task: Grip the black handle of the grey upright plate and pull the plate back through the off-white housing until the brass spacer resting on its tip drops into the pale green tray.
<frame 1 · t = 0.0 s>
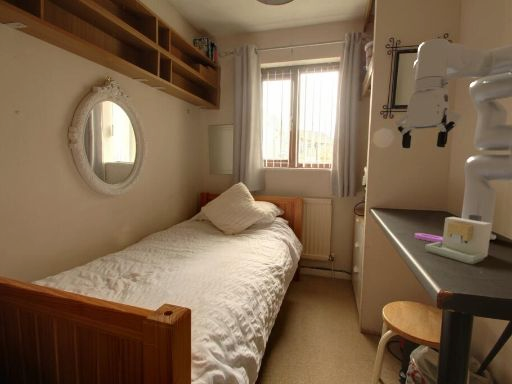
hand: (422, 147, 79), 31 cm above the table, tool pointing down, fingers open, 9 cm apart
spacer: (458, 238, 80), point 5 cm above the table, touching grey upright plate
grey upright plate: (466, 228, 82), point 8 cm above the table, slide at 0.0 cm, touching spacer
housing: (463, 252, 83), on the table
bracket: (435, 241, 95), on the table
tray: (453, 255, 79), on the table
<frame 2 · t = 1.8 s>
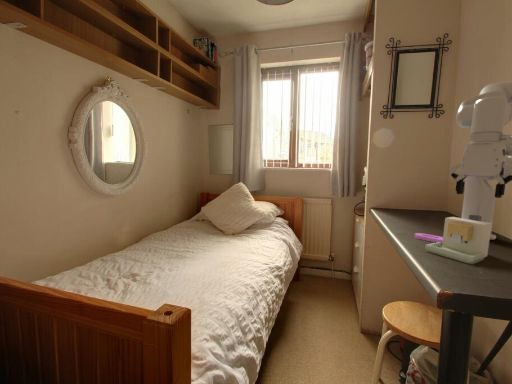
hand: (478, 195, 83), 18 cm above the table, tool pointing down, fingers open, 9 cm apart
nothing on the table moved.
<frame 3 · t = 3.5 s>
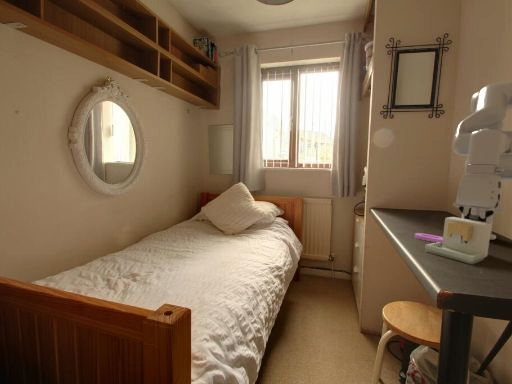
hand: (473, 228, 85), 7 cm above the table, tool pointing down, fingers closed on grey upright plate, 2 cm apart
grey upright plate: (466, 228, 82), point 8 cm above the table, slide at 0.0 cm, touching gripper, spacer
everything else where it was.
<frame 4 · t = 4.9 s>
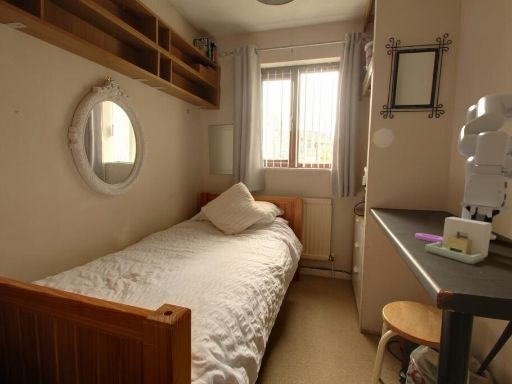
hand: (480, 227, 87), 7 cm above the table, tool pointing down, fingers closed on grey upright plate, 2 cm apart
spacer: (457, 251, 80), point 1 cm above the table, touching tray
grey upright plate: (473, 227, 84), point 8 cm above the table, slide at 5.1 cm, touching gripper
everything else where it was.
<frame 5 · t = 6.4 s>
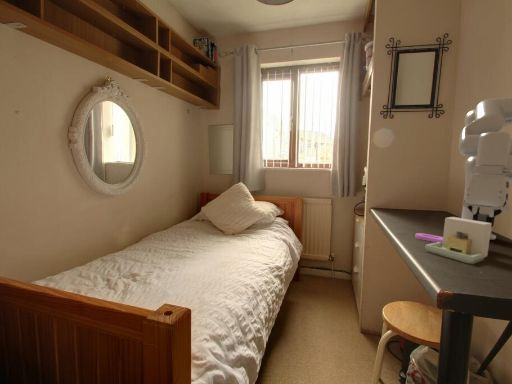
hand: (482, 227, 88), 7 cm above the table, tool pointing down, fingers closed on grey upright plate, 2 cm apart
grey upright plate: (475, 226, 85), point 8 cm above the table, slide at 6.5 cm, touching gripper
everything else where it was.
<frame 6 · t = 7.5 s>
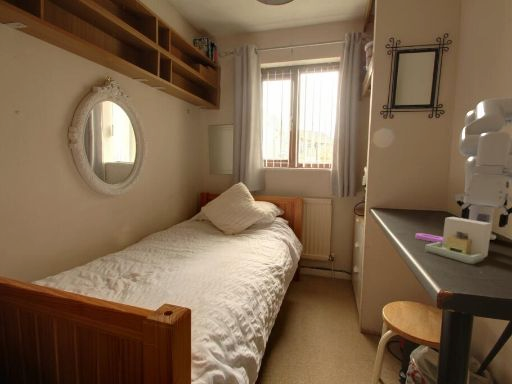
hand: (482, 223, 88), 8 cm above the table, tool pointing down, fingers open, 9 cm apart
grey upright plate: (475, 226, 85), point 8 cm above the table, slide at 6.5 cm
everything else where it was.
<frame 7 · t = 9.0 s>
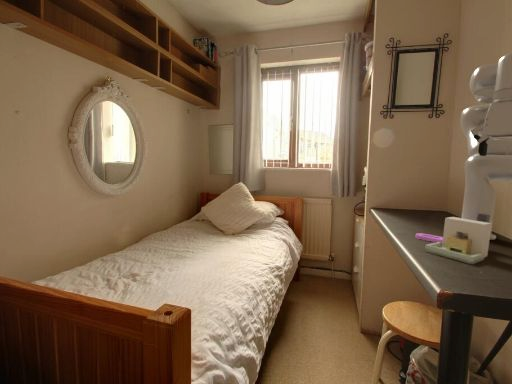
hand: (502, 155, 81), 30 cm above the table, tool pointing down, fingers open, 9 cm apart
nothing on the table moved.
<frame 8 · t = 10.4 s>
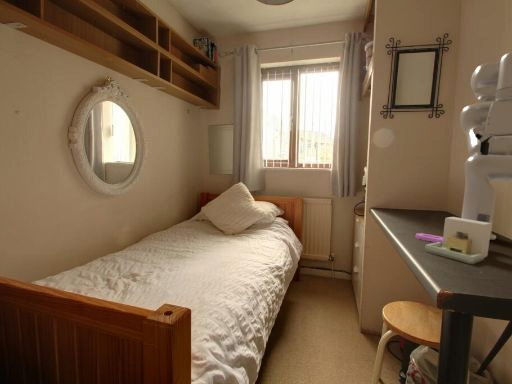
hand: (504, 154, 80), 30 cm above the table, tool pointing down, fingers open, 9 cm apart
nothing on the table moved.
at the end: spacer point 0.8 cm above the table; spacer inside the target area (2.4 cm from its centre), point 0.8 cm above the table; grey upright plate slide at 6.5 cm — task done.
